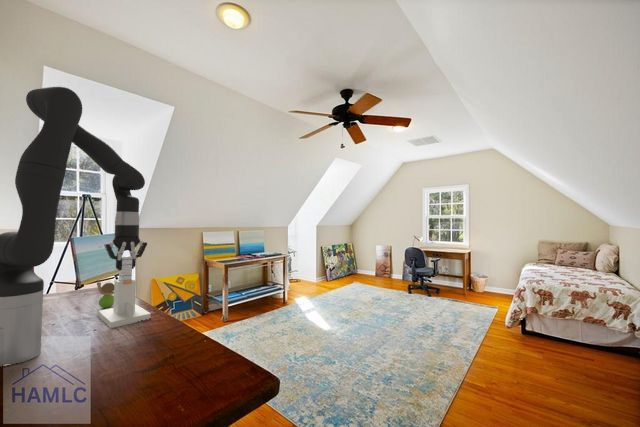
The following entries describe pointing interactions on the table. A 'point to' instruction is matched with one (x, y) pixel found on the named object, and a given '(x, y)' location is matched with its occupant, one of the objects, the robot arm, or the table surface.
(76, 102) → the robot arm
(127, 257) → the steel bar
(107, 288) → the snail figurine
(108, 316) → the grey stand
